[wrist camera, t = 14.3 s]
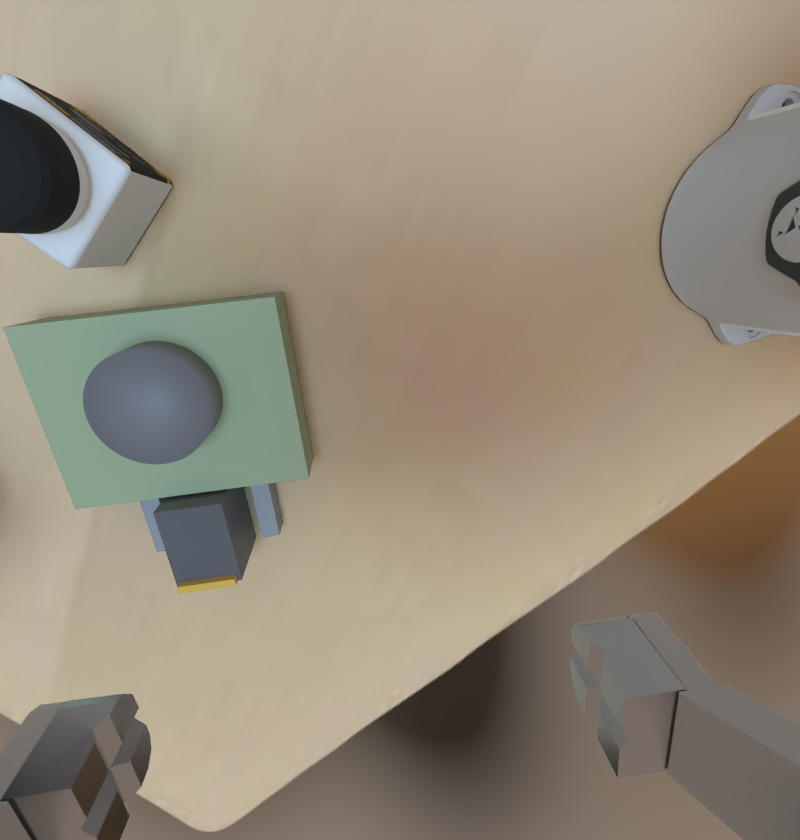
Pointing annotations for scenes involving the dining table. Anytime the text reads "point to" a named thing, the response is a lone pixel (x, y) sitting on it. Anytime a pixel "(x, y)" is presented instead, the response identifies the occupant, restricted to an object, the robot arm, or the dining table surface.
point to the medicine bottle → (71, 181)
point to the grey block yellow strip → (206, 537)
